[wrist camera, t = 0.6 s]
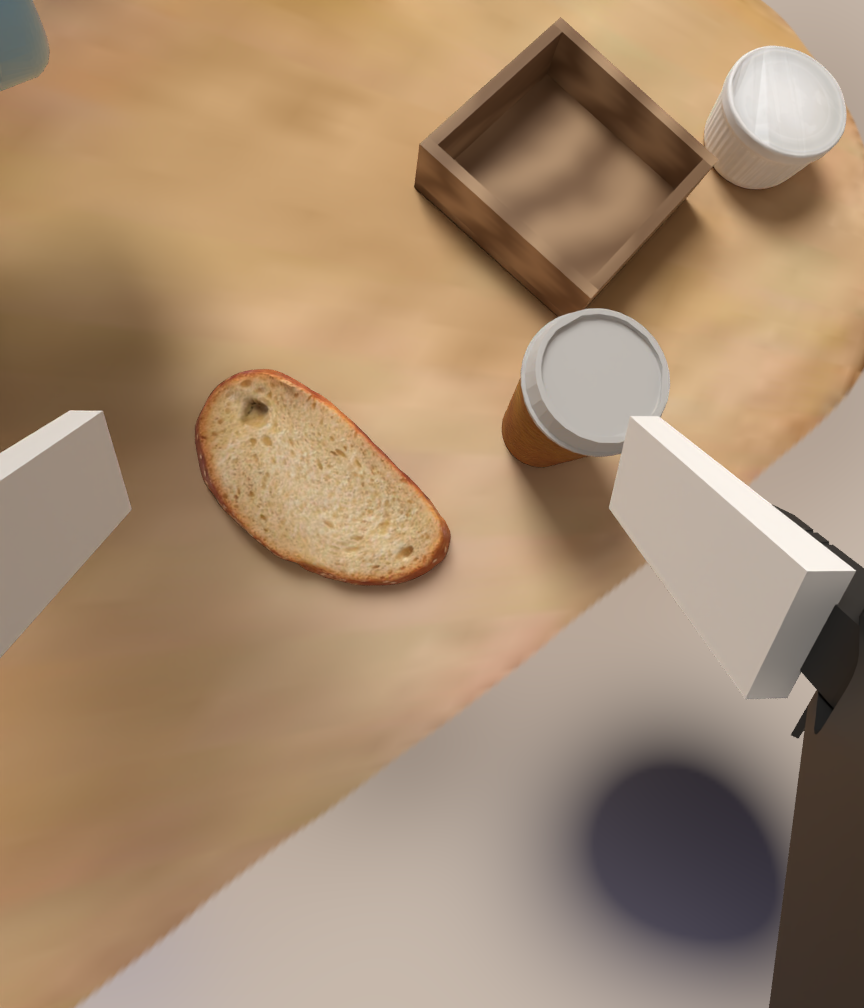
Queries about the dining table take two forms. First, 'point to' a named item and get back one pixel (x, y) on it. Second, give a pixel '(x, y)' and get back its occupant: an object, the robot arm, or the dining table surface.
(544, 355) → the disposable coffee cup
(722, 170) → the ramekin
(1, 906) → the dining table surface
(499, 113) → the open wooden box
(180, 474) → the dining table surface
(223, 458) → the bread slice
